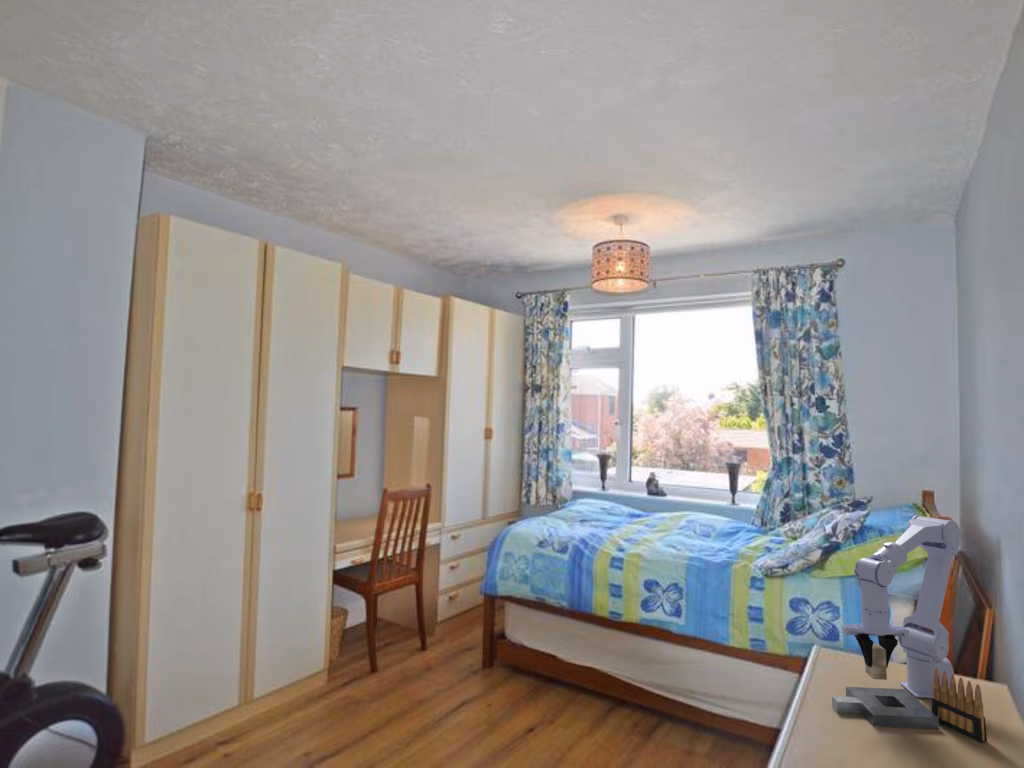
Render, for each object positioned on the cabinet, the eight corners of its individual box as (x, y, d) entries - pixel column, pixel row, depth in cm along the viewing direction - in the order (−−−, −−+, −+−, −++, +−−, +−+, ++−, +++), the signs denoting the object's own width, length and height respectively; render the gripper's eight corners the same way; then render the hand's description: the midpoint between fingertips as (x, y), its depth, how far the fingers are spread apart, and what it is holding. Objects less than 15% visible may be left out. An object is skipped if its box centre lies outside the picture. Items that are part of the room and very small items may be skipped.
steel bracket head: (905, 699, 149) (905, 689, 149) (939, 729, 135) (938, 717, 135) (822, 695, 151) (822, 685, 151) (847, 724, 137) (847, 713, 137)
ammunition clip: (987, 741, 130) (985, 685, 131) (981, 743, 129) (979, 686, 130) (936, 718, 140) (934, 665, 140) (931, 719, 139) (929, 667, 140)
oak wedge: (878, 672, 149) (877, 643, 149) (886, 679, 145) (885, 650, 145) (865, 671, 149) (864, 643, 149) (873, 679, 145) (872, 649, 145)
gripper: (897, 604, 150) (899, 660, 150) (836, 602, 152) (837, 657, 151) (913, 614, 143) (915, 672, 143) (848, 612, 145) (850, 669, 144)
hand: (876, 665), depth 147 cm, fingers closed on oak wedge, 3 cm apart
